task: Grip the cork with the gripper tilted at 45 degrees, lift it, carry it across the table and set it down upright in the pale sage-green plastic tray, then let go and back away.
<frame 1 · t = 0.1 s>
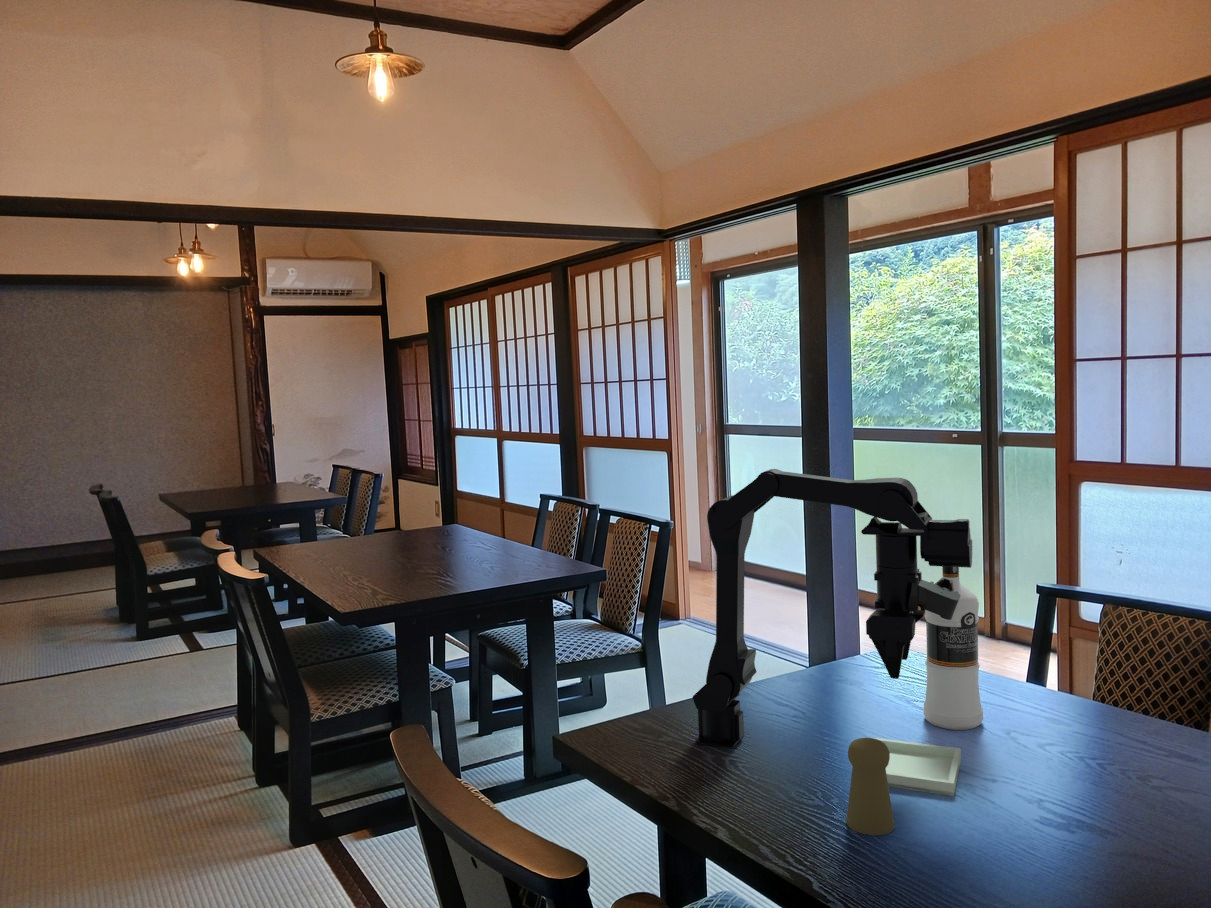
hand: (899, 668, 133), 15 cm above the table, tool pointing down, fingers open, 9 cm apart
cork: (870, 825, 117), on the table
vodka: (953, 722, 150), on the table
tray: (911, 771, 131), on the table
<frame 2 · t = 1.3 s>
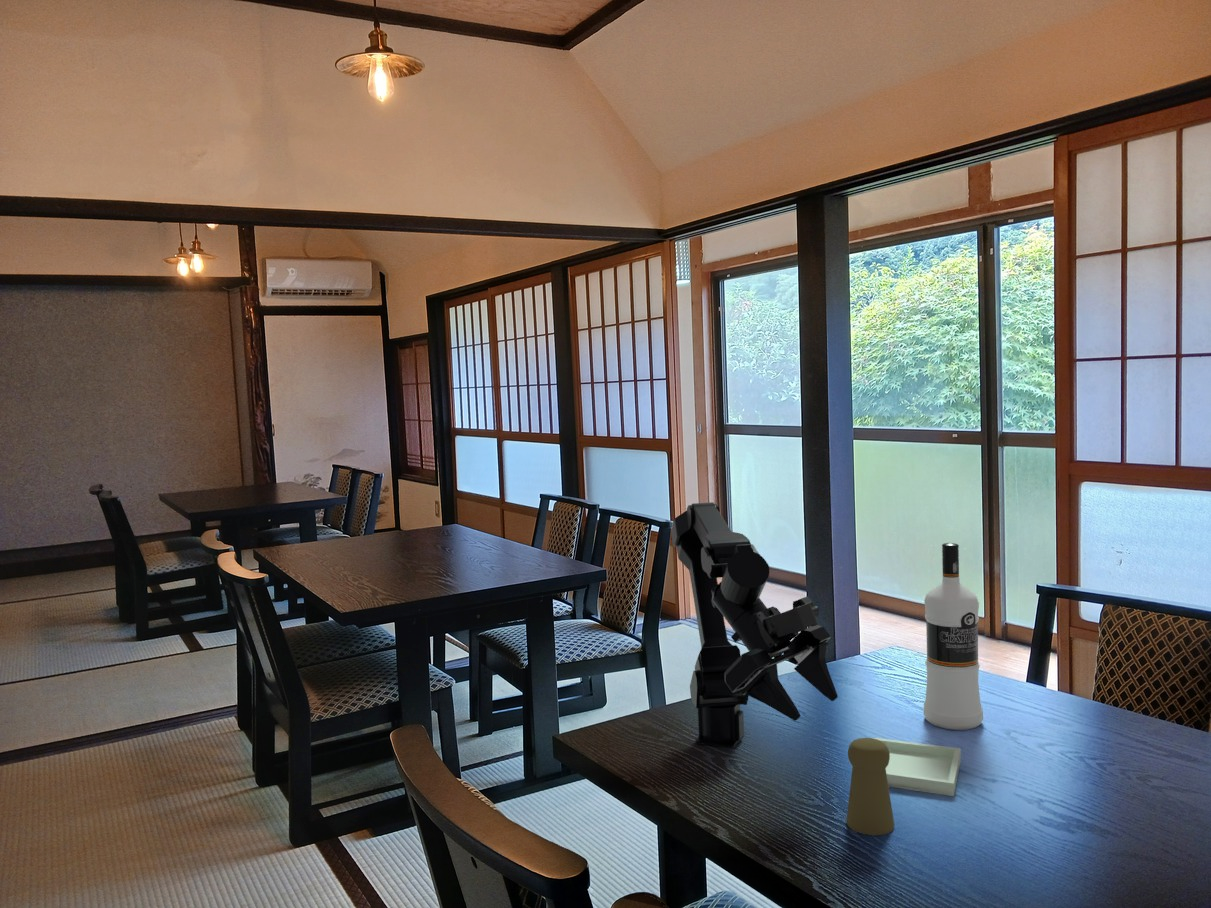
hand: (817, 708, 121), 14 cm above the table, tool tilted 45°, fingers open, 9 cm apart
nothing on the table moved.
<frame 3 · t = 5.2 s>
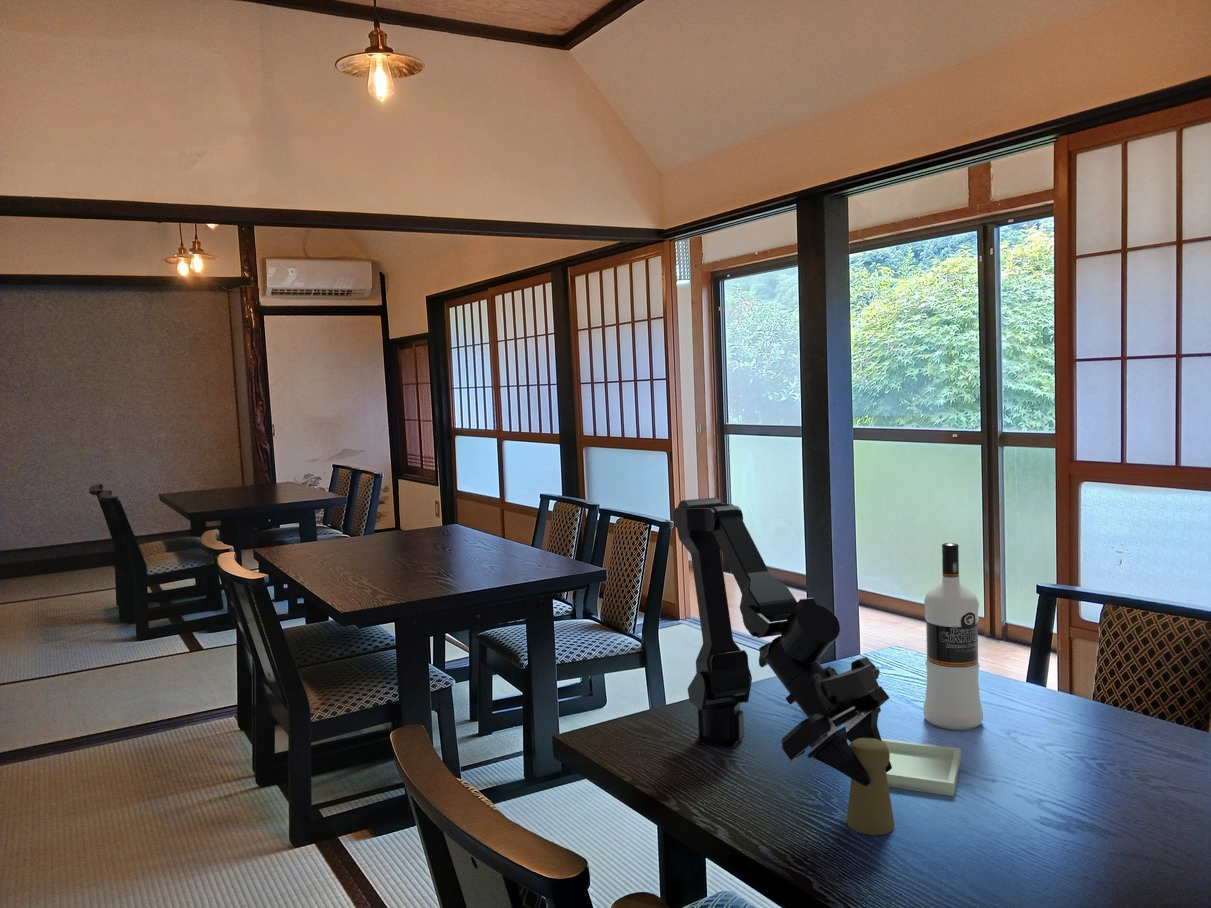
hand: (879, 777, 115), 7 cm above the table, tool tilted 45°, fingers closed on cork, 5 cm apart
cork: (870, 825, 117), on the table, touching gripper
everything else where it was.
when the fingers open (8 cm above the table, at t = 10.9 s): cork stays where it is, resting on tray.
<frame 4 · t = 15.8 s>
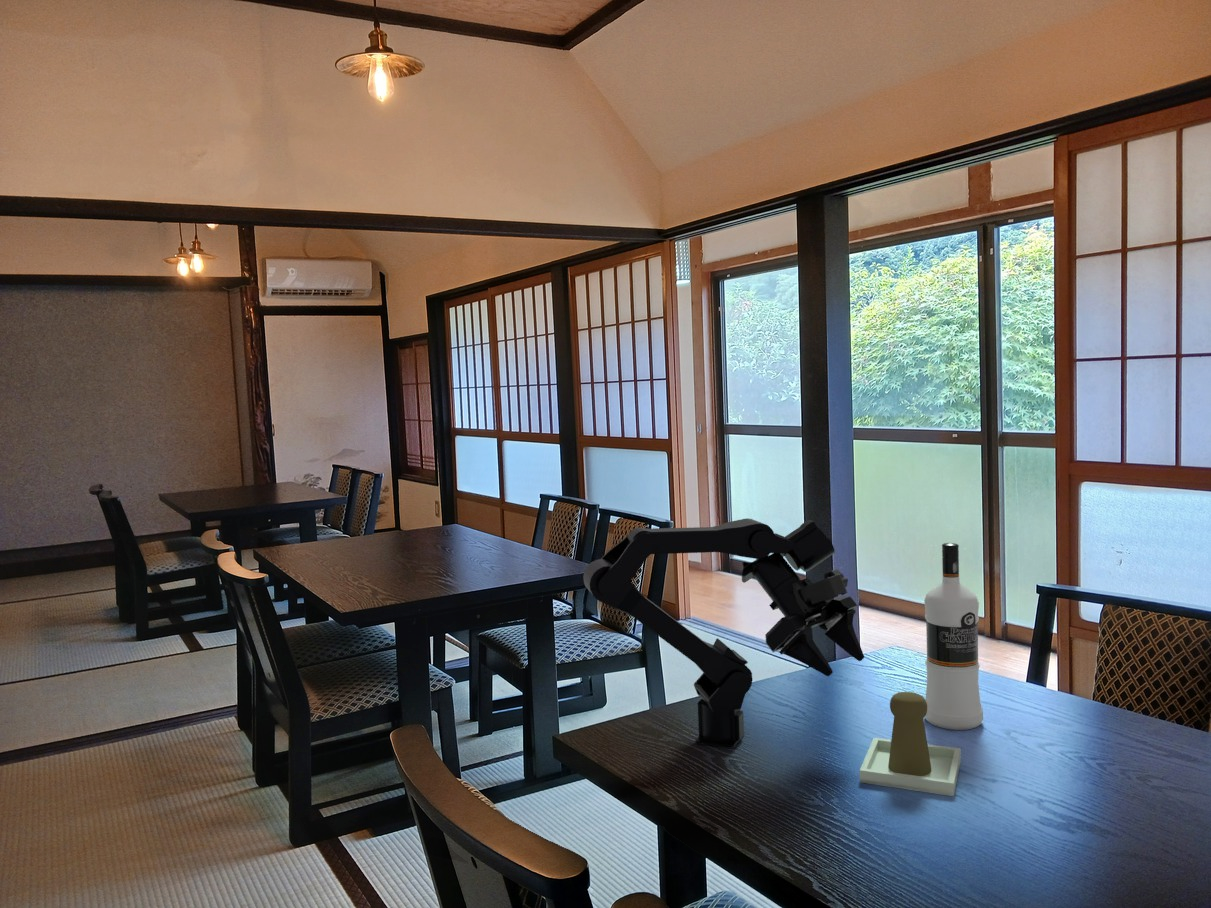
hand: (846, 666, 138), 14 cm above the table, tool tilted 45°, fingers open, 9 cm apart
cork: (909, 769, 131), resting on tray
everything else where it was.
at the end: cork 0.2 cm off-centre on the tray, point 0.3 cm above the tray's base; cork tilted 0°; the gripper is holding nothing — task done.
